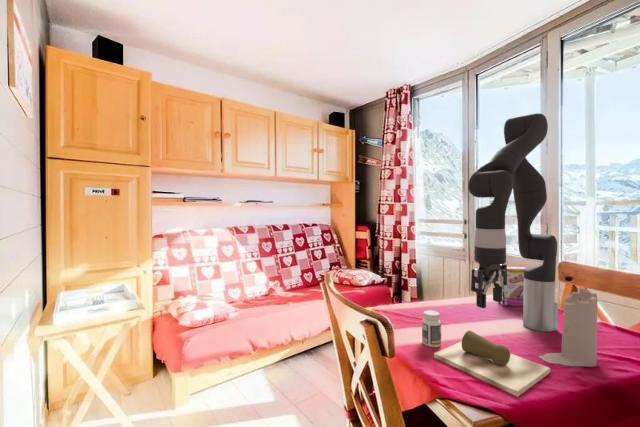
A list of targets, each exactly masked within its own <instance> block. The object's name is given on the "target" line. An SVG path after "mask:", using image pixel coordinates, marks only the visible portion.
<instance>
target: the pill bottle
mask: <svg viewBox="0 0 640 427" xmlns="http://www.w3.org/2000/svg"><path fill="white" fill-rule="evenodd" d="M423 317H424V318H422V320H421V329H422V330H421V333H422V334H421V338H422V339H421V341H422V344H423V345H425V346H427V347H430V348H440V346H441V345H442V322H441V320H440V313H439V312H438V311H436V310H424V311H423Z"/></svg>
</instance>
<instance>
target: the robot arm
mask: <svg viewBox="0 0 640 427" xmlns="http://www.w3.org/2000/svg"><path fill="white" fill-rule="evenodd" d="M548 124H549V123H548V120H547V117H546V115H544V114H543V113H540V112H539V113H530V114H526V115H521V116H520V115H519V116H515V117H510V118H508V119H506V121H505V122H504V125H503V136H504V143H505V145H504V146H501V148H500V149H498V151H496V153H494V155H493V156H492V158H491V159H490V160H489V162H487V163H485V164H484V165H483V166H481V167H480V168H478V169H477V170H475V171H474V172H473V174H472V175H471V176H470V178H469V181H468V182H467V183H468V184H467V188H468V191H469V193H470V194H471V196H473V197H475V198H480V199H484V198H493V200H492V202H491V203H490V204H488V205H484V206H480V207H477V209H476V210H475V231H474V242H473V243H474V246H473V248H474V249H473V250H474V251H473V252H474V254H473V256H474V258H473V259H474V262H475V263H478V264H479V266H478V268H471V279H470V280H471V281H470V291H471V292H474V293H475V294H476V296H475V297H476V299H475V300H476V302H475V303H476V306H477V307H478V308H480V309H486V308H487V294H486V293H487V291H488V288H491V286H492V300H493V302H497V303H498V302H502V289H503V288H504V285H507V267H508V265H507V264H506V263H507V234H506V213H507V208H508V204H509V200H510V197H511V194H512V193H513V200H514V206H515V212H516V220H517V237H518V238H517V239H518V240H517V241H518V250H519V254H520V257H522V258H523V259H526V260H534V261H542V264H541V265H539V266H536V267H532V268H528V269H526V270H524V288H523V306H522V308H523V310H522V312H523V313H522V325H523V326H524V327H526V328H528V329H531V330H533V331H538V332H545V333H546V332H547V333H550V332H554V331H558V330H559V329H558V328H559V327H558V326H559V303H558V302H557V301H556V274H557V273H556V270H557V267H556V266H557V257H558V256H557V255H558V254H557V253H558V241H557V238H556V237H555V235H553V234H545V233H544V234H543V233H542V234H540V233H531V226H532V224H533V223H534V220H535V219H536V218H537V216H538V215H539V213H540V212H541V210H542V209H543V208H544V206H545V204H546V203H547V201H548V200H547V199H548V195H547V186H546V185H547V184H546V180H545V178H544V177H543V176H542V174H541V173H540V172H539V171H538V170H537V169H536V168H535V166H533V165H532V164H531V163H530V162H529V160H528V159H527V156H528V155H530V154H531V152H533V151H534V150H535V149H536V148H537V147H538V146H539V145H540V144H542V142H543V141H544V140H545V139H546V137H547V134H548V129H549V128H548V127H549V126H548ZM502 277H503V278H502Z"/></svg>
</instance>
